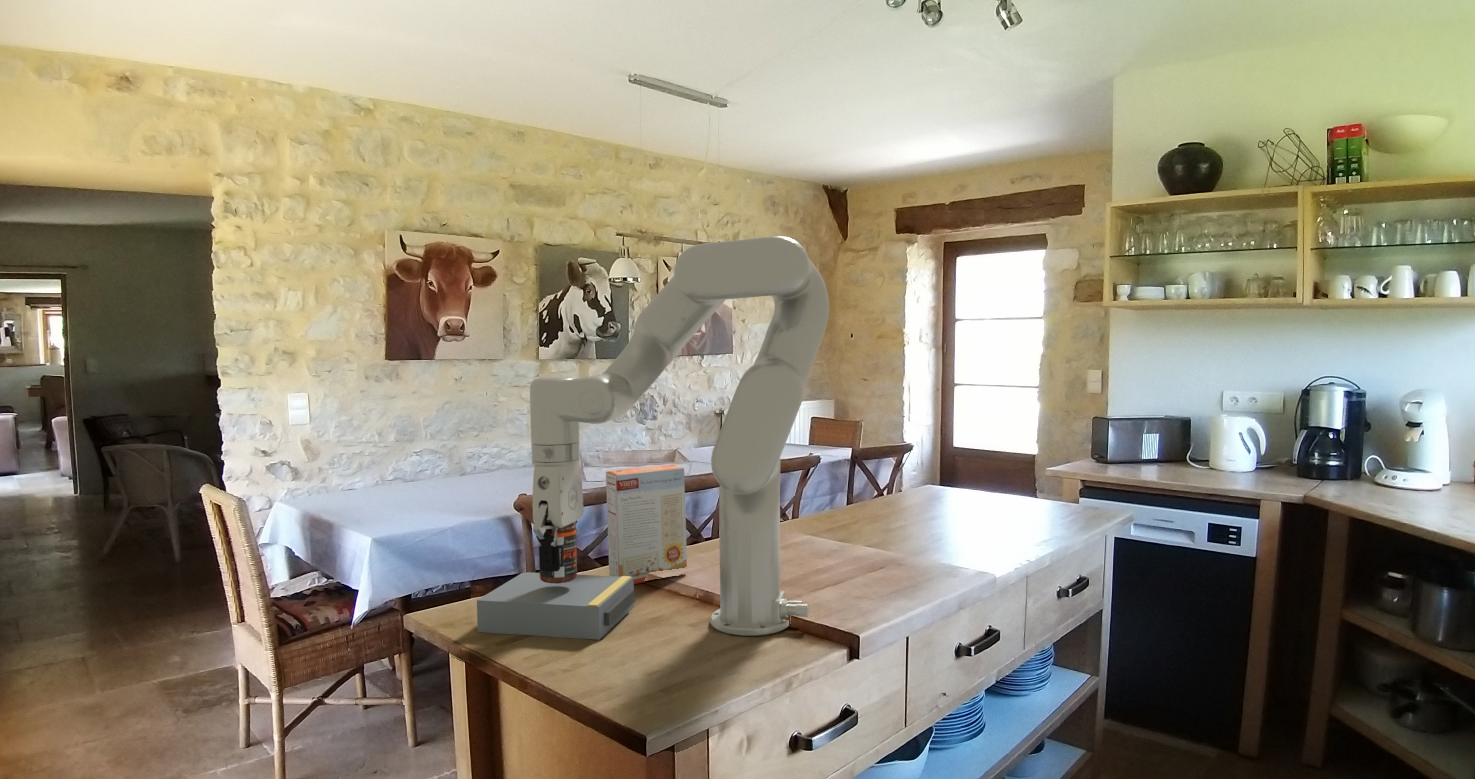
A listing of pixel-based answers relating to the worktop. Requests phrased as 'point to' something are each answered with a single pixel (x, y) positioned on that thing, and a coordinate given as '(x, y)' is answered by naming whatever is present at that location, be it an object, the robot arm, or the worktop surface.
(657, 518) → the cracker box
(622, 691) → the worktop surface
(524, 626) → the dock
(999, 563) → the worktop surface
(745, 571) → the robot arm
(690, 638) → the worktop surface
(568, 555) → the supplement bottle
